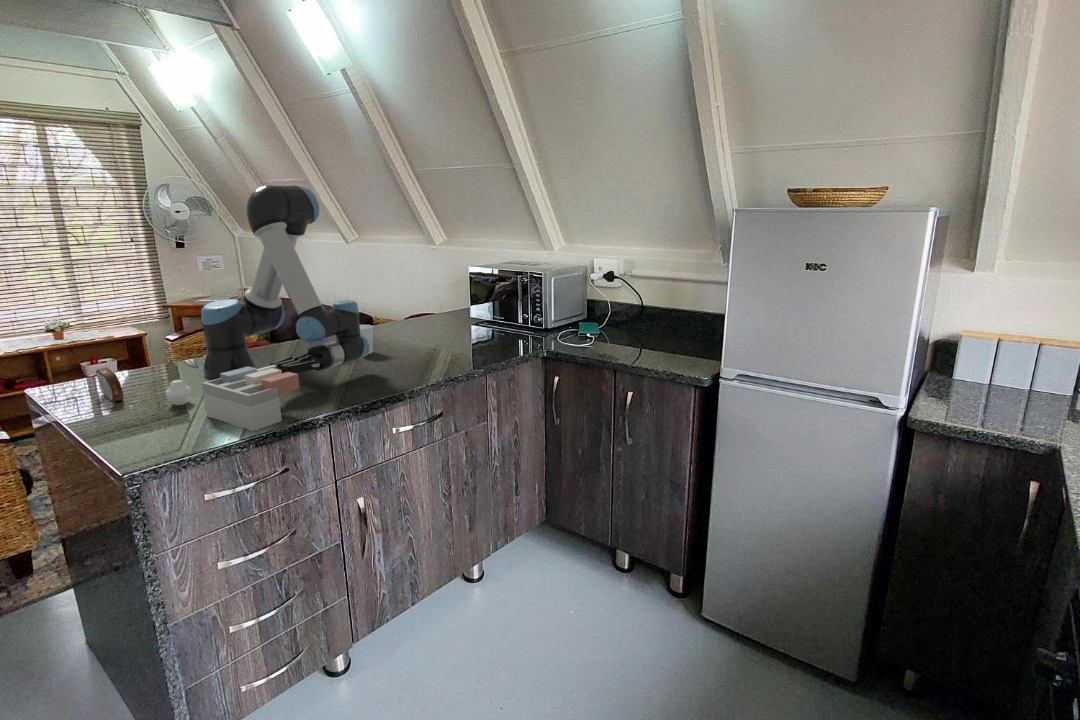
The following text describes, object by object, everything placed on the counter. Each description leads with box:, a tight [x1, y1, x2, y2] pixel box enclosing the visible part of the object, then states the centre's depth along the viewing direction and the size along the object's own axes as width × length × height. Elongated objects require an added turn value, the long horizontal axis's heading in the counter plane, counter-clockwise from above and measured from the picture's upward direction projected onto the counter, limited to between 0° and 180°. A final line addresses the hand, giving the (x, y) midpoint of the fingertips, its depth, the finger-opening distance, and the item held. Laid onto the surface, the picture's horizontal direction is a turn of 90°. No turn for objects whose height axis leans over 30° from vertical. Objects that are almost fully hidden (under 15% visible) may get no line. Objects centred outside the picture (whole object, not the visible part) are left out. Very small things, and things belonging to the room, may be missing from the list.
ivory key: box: [245, 368, 282, 386], centre depth 156 cm, size 4×8×4 cm, turn 149°
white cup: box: [360, 324, 374, 356], centre depth 216 cm, size 8×8×10 cm
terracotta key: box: [261, 372, 301, 396], centre depth 153 cm, size 4×8×4 cm, turn 149°
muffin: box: [165, 379, 192, 406], centre depth 164 cm, size 6×6×7 cm
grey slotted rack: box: [201, 378, 282, 432], centre depth 152 cm, size 20×8×9 cm, turn 59°
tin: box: [95, 367, 124, 403], centre depth 168 cm, size 15×3×8 cm, turn 48°
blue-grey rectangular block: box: [220, 367, 258, 384], centre depth 158 cm, size 4×8×4 cm, turn 149°
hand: (254, 375), depth 161 cm, fingers closed
